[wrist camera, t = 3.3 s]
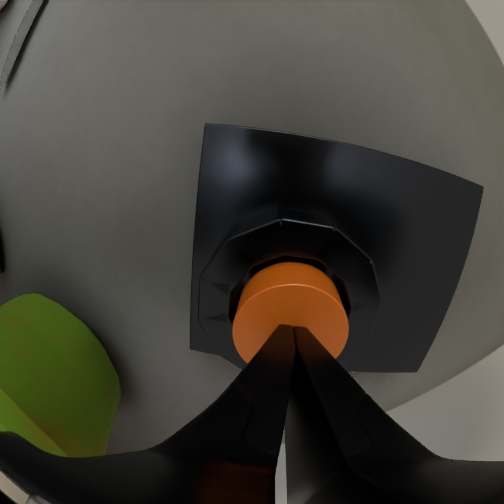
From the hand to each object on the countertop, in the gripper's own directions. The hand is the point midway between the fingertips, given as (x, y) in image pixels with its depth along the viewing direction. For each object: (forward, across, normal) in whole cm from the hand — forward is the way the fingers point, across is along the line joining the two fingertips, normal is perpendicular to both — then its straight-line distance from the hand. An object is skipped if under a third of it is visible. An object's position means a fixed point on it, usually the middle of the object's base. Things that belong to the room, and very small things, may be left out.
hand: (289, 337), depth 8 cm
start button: (+2, 0, 0) cm, 2 cm away
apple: (+6, +14, +9) cm, 17 cm away
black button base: (+5, -2, -1) cm, 6 cm away
